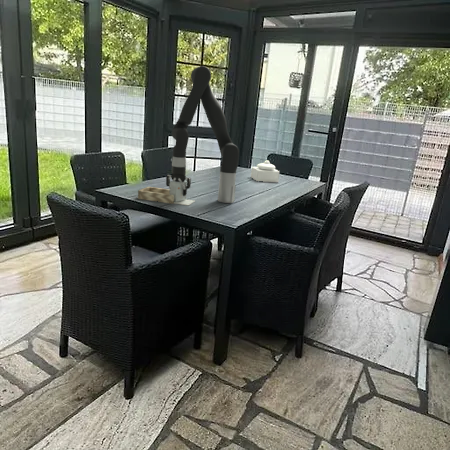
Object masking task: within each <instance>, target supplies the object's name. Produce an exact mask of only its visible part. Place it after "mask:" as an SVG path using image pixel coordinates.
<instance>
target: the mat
mask: <svg viewBox="0 0 450 450" xmlns="http://www.w3.org/2000/svg"><path fill="white" fill-rule="evenodd" d="M194 203H196V200H191V199H187V198H186V200H182V201H177V202H175V201H174V203H173V204H174V205H180V206H181V205H182V206H188V207H189V206H191V205H193V204H194Z"/></svg>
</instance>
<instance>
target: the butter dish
mask: <svg viewBox="0 0 450 450" xmlns="http://www.w3.org/2000/svg"><path fill="white" fill-rule="evenodd" d="M250 178H251V179H252V178H253V180H254V181H255V180H256V181H255V182H257V181H263V182H262V183H279V179H280V171H279V170H278V169H276V166H275V165H274V164H272V163H271V162H270V160H268V159H267V160H265V161H264V162H260V163H258V164H256V166H251V170H250Z"/></svg>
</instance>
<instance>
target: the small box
mask: <svg viewBox="0 0 450 450" xmlns="http://www.w3.org/2000/svg"><path fill="white" fill-rule="evenodd" d="M184 183H185V184H186V186H187V181H186V180H185V182H183V184H184ZM169 190H170V194H169V195H174V202H177V201H182V200H186V199H187V194H186V195H185V196H183V187H182V185H181V183H180V182H176V181H175V182H174V181H173V180H172V181H171V180H170V188H169Z"/></svg>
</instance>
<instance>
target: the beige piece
mask: <svg viewBox="0 0 450 450" xmlns="http://www.w3.org/2000/svg"><path fill="white" fill-rule="evenodd" d="M169 190H170V188H161V187H155V186H154V187H153V186H146V187H144V188H141V189H139V190H138V191H137V199H138V200H144V201H146V200H147V201H152V202H157V201H158V203H165V204H174V202H175V201H174V195H169V194H170V192H169Z"/></svg>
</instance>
